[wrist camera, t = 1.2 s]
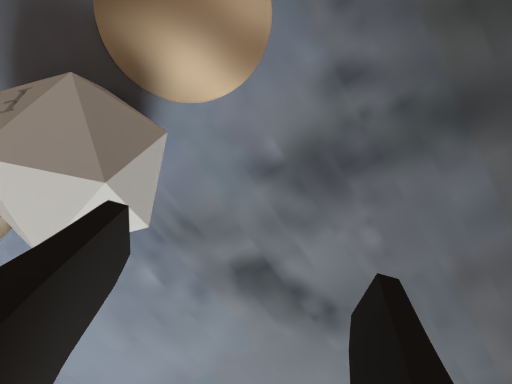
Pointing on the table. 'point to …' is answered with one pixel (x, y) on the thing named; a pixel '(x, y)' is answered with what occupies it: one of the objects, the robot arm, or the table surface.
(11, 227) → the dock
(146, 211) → the die
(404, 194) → the table surface
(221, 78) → the coaster
